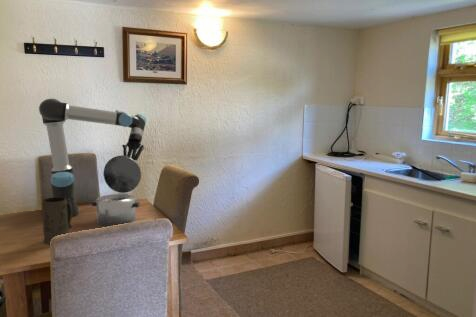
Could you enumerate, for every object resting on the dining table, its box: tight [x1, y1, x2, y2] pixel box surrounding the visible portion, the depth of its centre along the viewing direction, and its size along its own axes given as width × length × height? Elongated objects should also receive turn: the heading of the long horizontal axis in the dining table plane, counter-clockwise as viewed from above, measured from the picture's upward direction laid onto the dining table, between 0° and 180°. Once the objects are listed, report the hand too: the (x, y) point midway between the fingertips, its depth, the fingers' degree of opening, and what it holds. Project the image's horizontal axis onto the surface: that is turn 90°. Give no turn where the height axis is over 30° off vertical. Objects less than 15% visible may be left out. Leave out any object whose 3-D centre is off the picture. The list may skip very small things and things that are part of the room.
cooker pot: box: [91, 192, 141, 227], centre depth 210 cm, size 25×21×12 cm
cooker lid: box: [103, 155, 142, 194], centre depth 218 cm, size 21×21×4 cm
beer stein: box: [41, 197, 73, 245], centre depth 181 cm, size 15×11×20 cm
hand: (127, 169), depth 221 cm, fingers closed
